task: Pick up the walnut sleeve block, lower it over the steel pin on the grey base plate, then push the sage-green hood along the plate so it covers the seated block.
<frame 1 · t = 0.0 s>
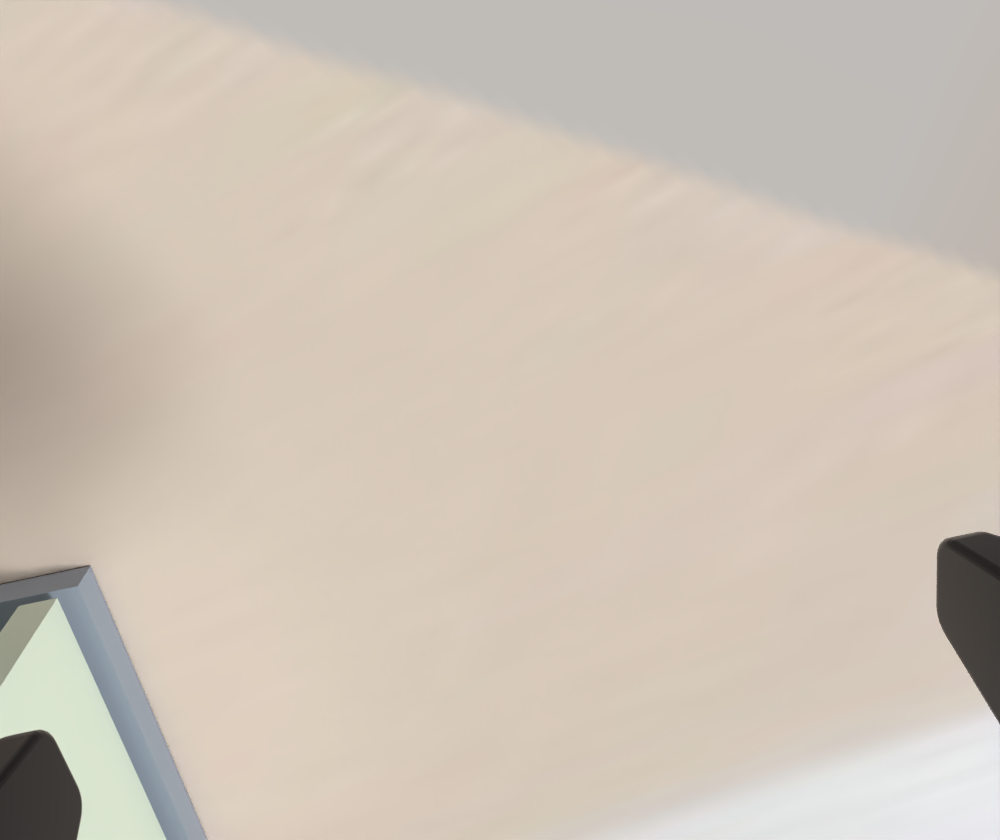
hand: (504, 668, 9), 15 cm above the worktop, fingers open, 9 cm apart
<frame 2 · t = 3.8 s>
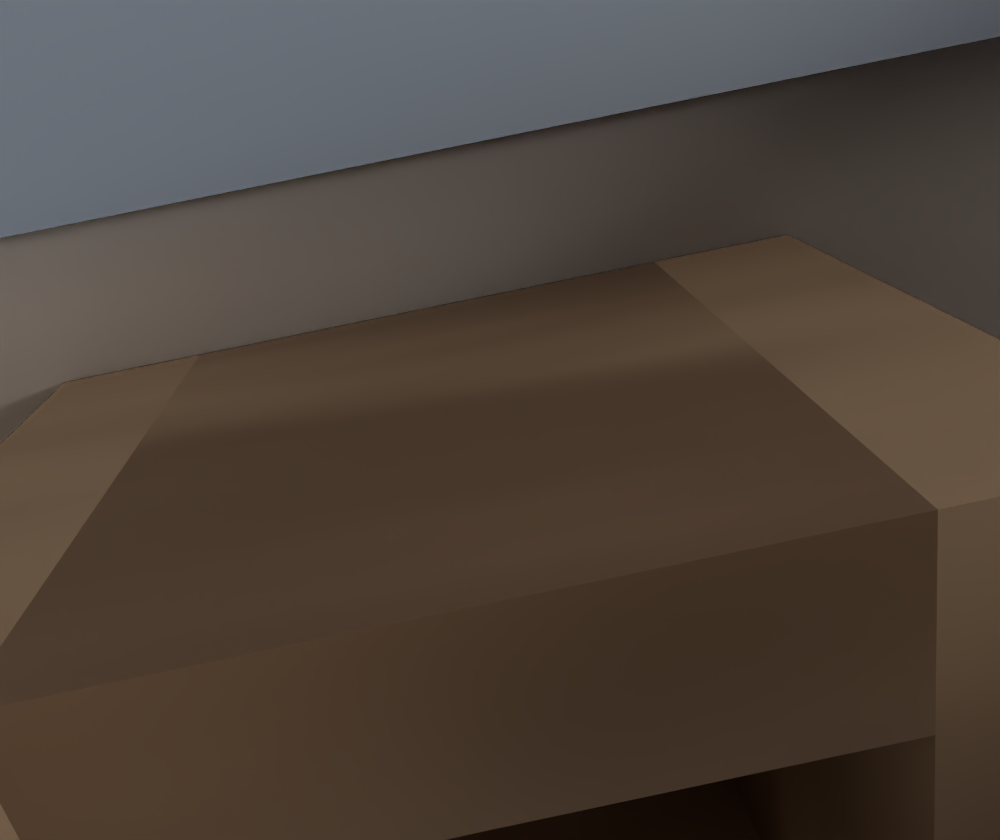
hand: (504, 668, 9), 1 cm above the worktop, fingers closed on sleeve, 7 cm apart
sleeve: (495, 610, 10), on the worktop, touching gripper
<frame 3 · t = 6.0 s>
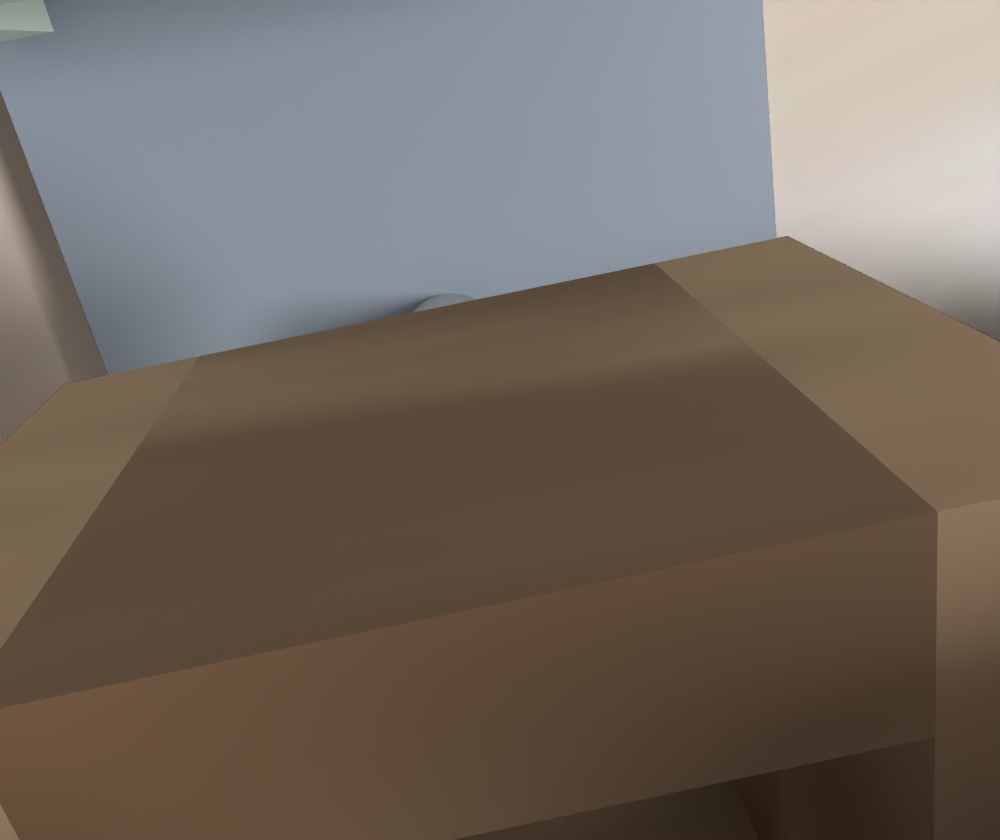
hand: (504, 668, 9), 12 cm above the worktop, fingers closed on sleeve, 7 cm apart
grey base plate: (387, 32, 17), on the worktop
sleeve: (495, 611, 10), point 11 cm above the worktop, touching gripper
when the fingers open (3 cm above the worktop, at t = 8.4 s): sleeve drops 1 cm, resting on grey base plate.
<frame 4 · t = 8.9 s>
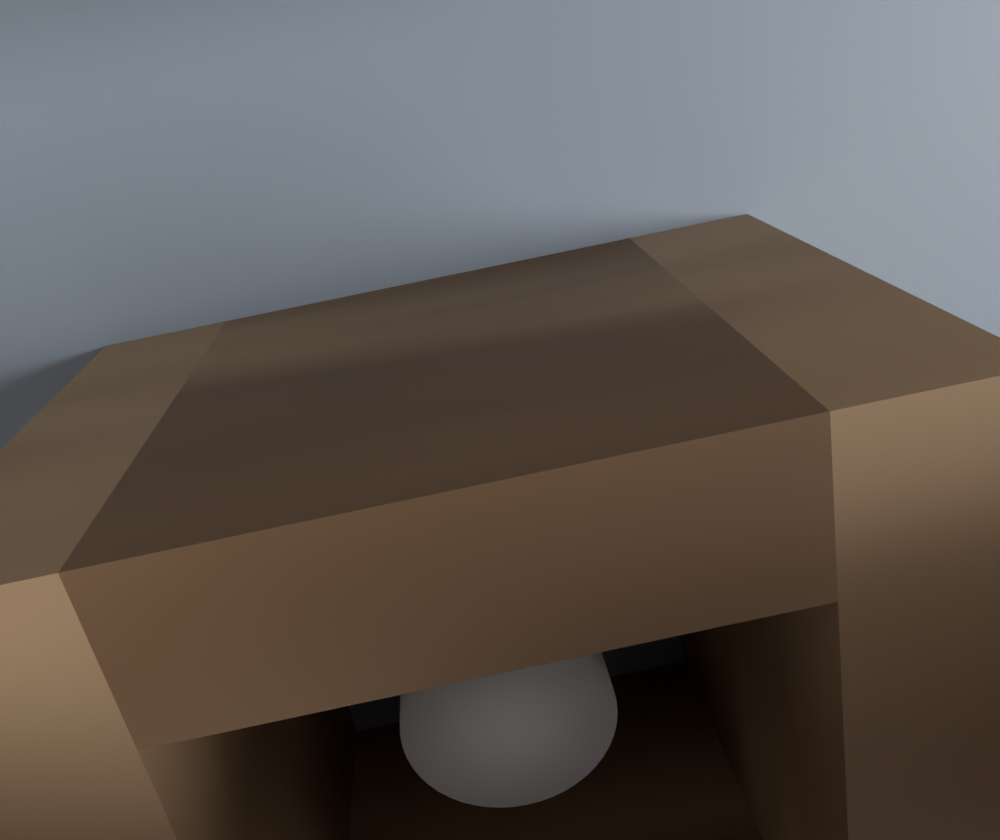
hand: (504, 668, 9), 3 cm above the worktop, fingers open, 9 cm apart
grey base plate: (370, 28, 10), on the worktop
sleeve: (489, 555, 11), point 1 cm above the worktop, touching grey base plate
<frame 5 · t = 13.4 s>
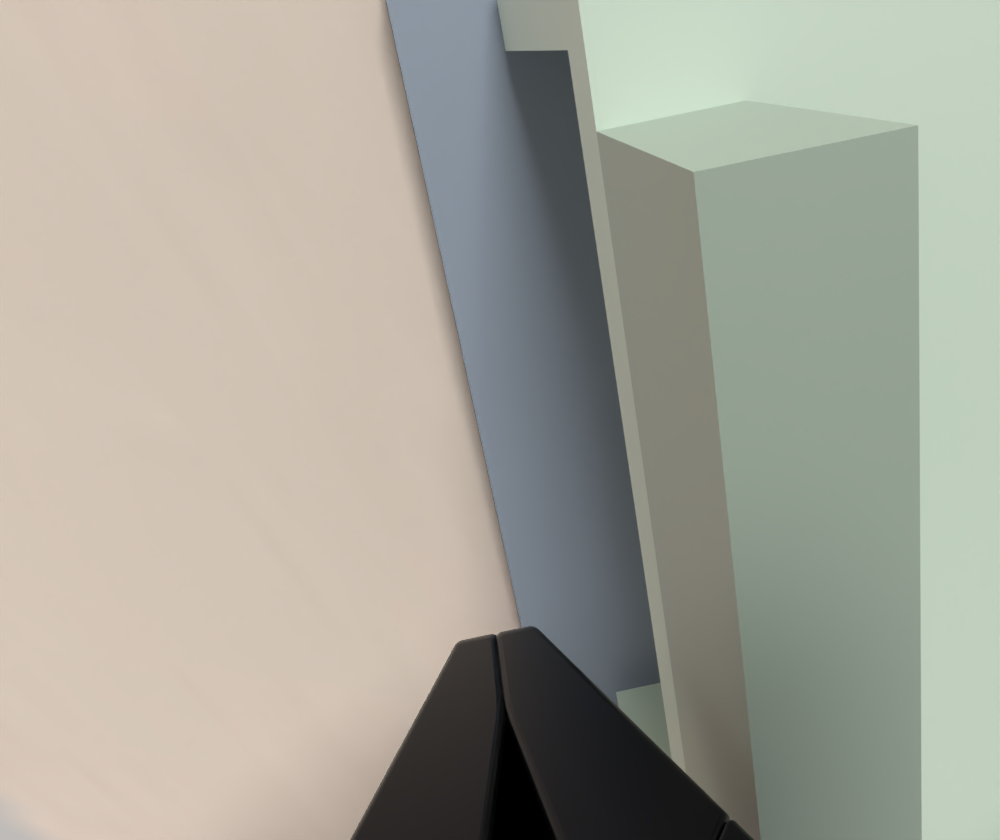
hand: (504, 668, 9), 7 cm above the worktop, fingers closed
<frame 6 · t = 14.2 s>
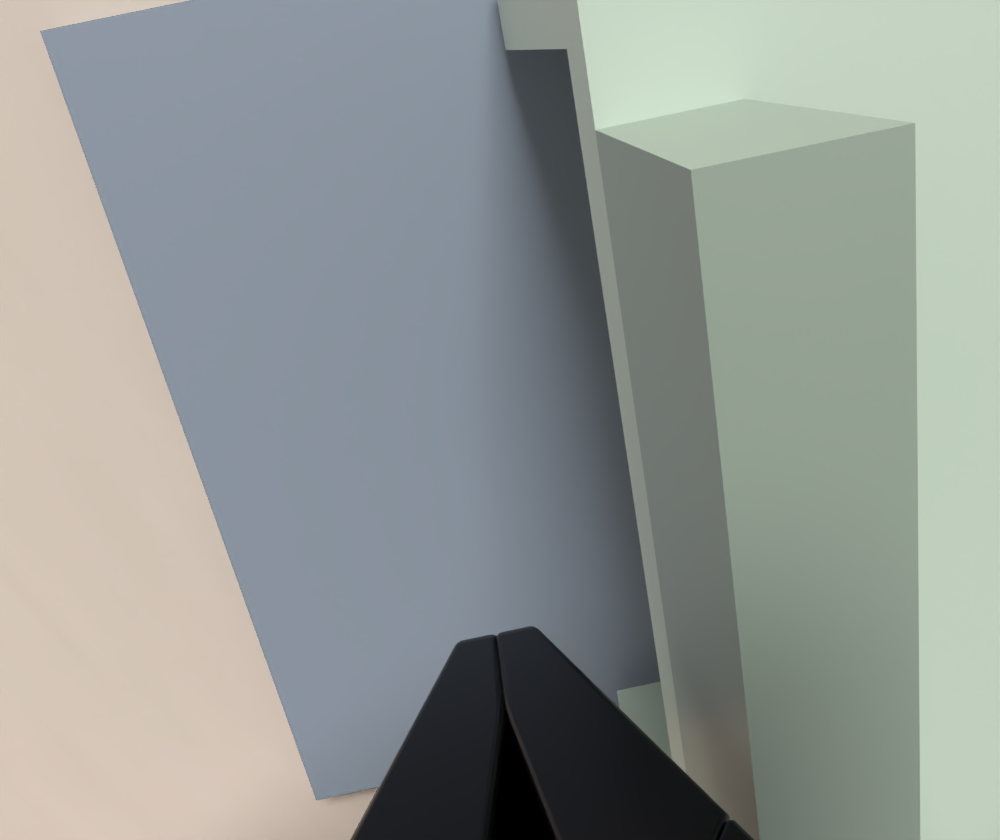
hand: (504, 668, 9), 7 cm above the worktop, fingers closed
grey base plate: (827, 330, 16), on the worktop
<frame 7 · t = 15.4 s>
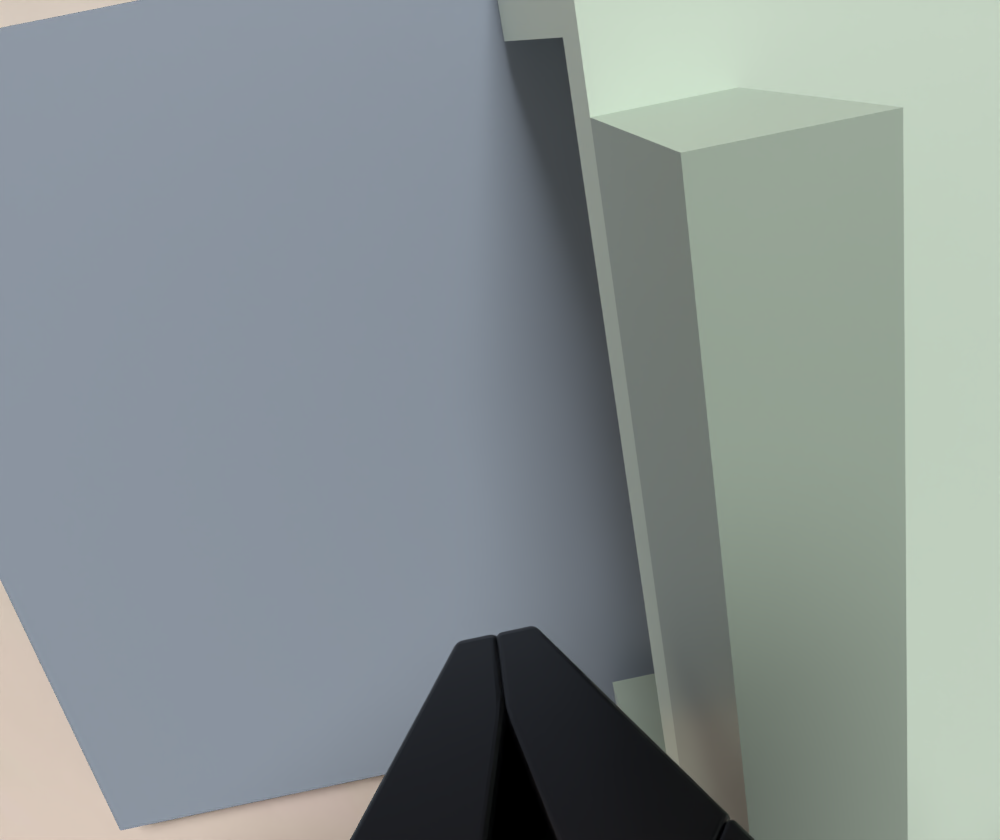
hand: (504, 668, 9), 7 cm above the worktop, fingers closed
grey base plate: (613, 368, 16), on the worktop
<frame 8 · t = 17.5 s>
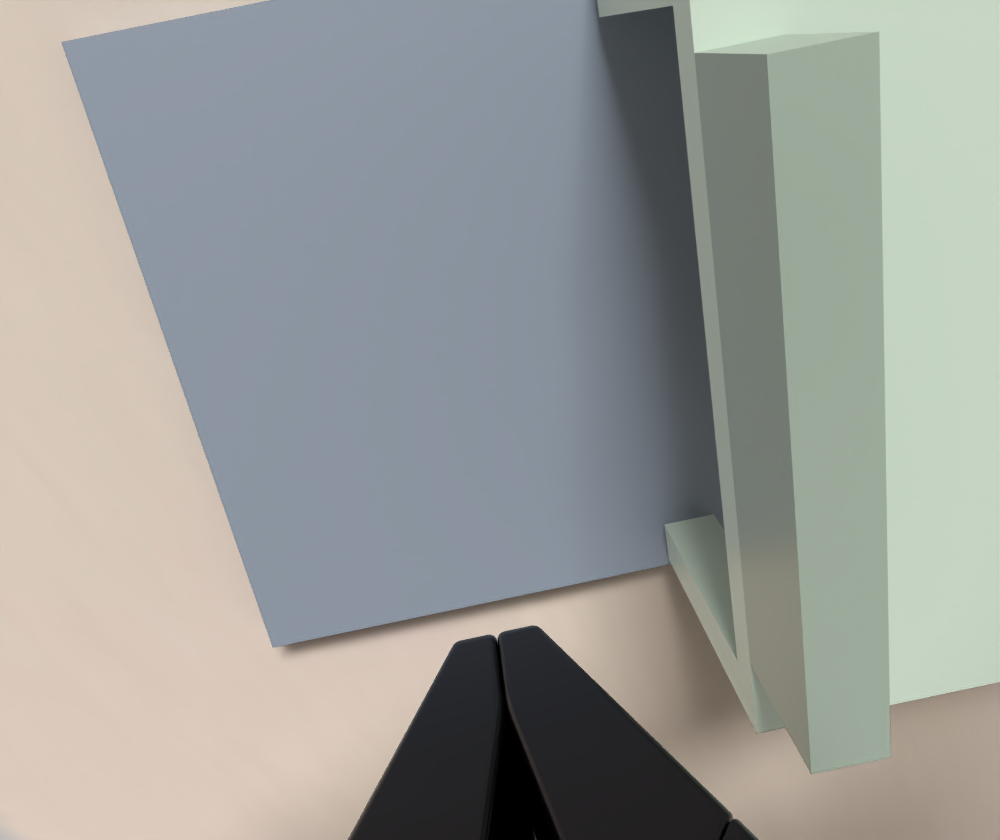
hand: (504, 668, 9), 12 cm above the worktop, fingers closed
hood: (980, 305, 15), point 6 cm above the worktop, slide at 9.9 cm
grey base plate: (666, 274, 21), on the worktop
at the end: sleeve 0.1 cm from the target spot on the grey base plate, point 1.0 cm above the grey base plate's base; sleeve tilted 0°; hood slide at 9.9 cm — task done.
